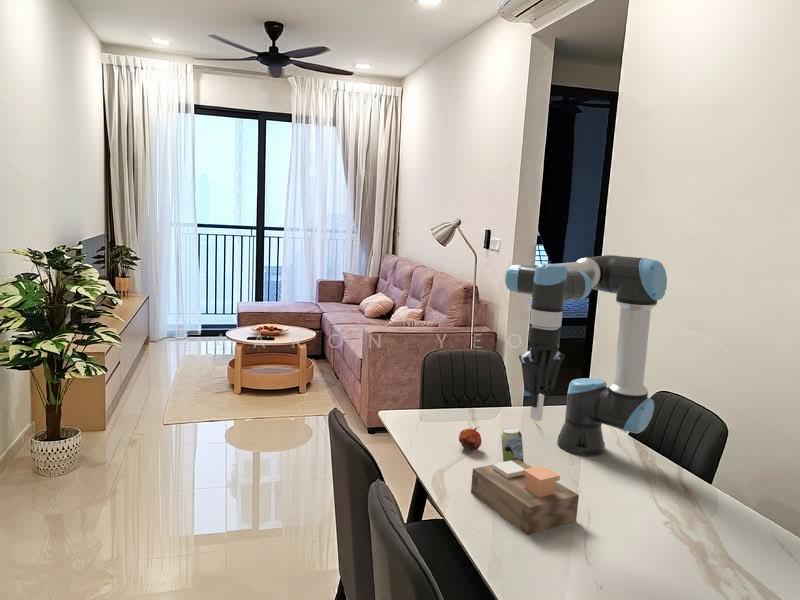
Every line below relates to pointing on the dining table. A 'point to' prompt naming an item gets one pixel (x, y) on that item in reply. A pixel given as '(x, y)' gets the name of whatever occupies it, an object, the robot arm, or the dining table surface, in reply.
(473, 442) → the red round fruit
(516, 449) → the beverage can
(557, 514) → the brown boxy piece
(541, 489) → the terracotta key
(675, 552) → the dining table surface
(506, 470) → the white block
